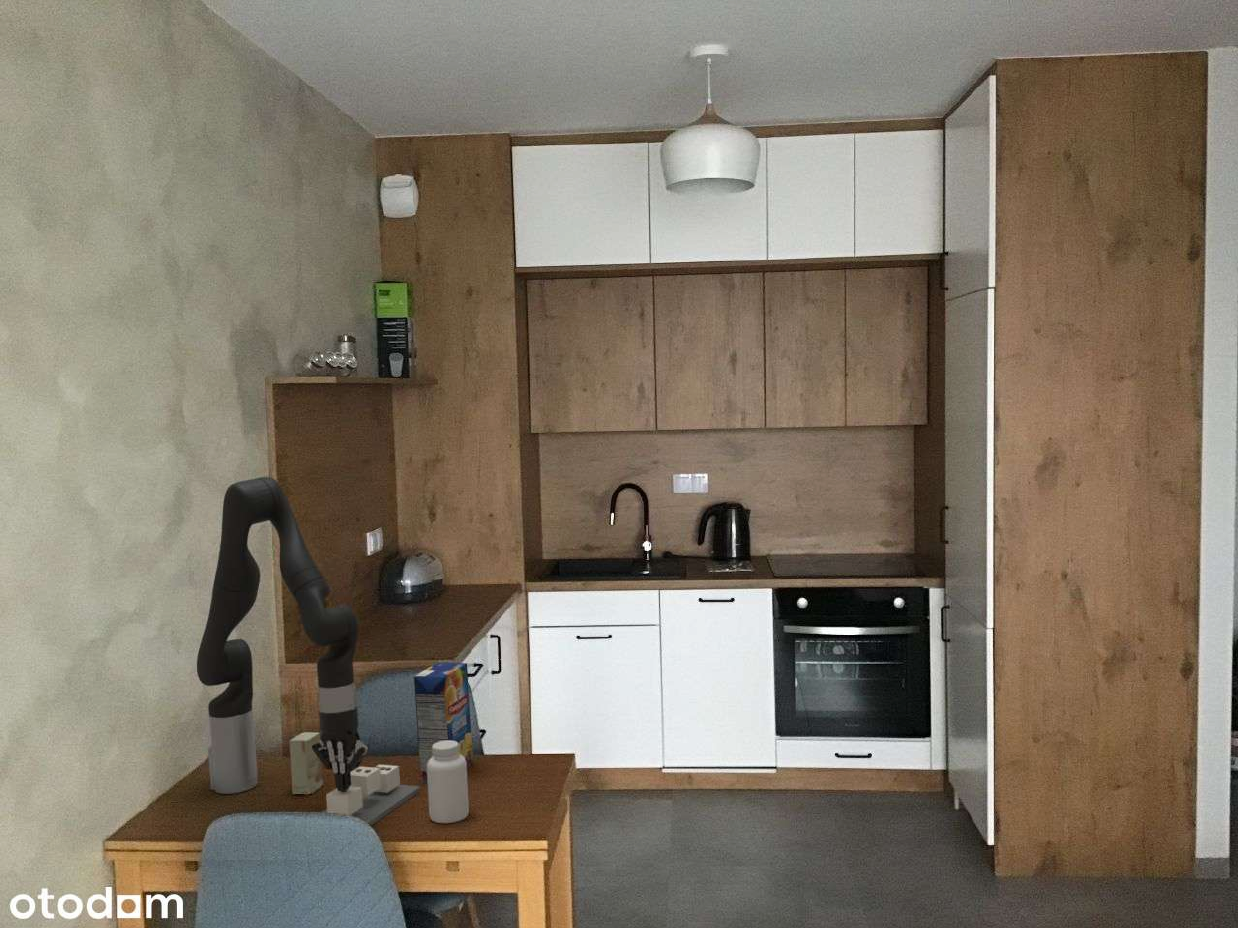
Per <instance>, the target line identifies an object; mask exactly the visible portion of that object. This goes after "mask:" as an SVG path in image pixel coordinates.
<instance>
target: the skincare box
mask: <svg viewBox="0 0 1238 928" xmlns="http://www.w3.org/2000/svg"><path fill="white" fill-rule="evenodd" d="M320 740H321V733H320V732H309V731H308V732H306V731H305V732H301V733H299V734H297V735H295V737H293V738H292V739H290V740H289V756H290V771H291V772H290V773H291V788H292V795H293V794H311V793H312V794H313V793H315V792H317V791H318V790H319V789H320V788H322V787H323V786H324V782H323V780H324V779H323V767H322V765H323V763H322V762H321V761H320V759H319V758H318V756H317V755H316V753H315V752H314V751H313V749H312V745H314V744H316V743H318V742H319V741H320ZM322 785H323V786H322ZM321 786H322V787H321ZM317 789H318V790H317ZM312 794H311V795H312Z"/></svg>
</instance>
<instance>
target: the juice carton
mask: <svg viewBox="0 0 1238 928" xmlns="http://www.w3.org/2000/svg"><path fill="white" fill-rule="evenodd" d="M468 673H469V671H468V663H467V662H466V663H463V662H436V663H435V664H432V665H431V666H429V667H427V668H426V669H424V670H422V671H421V672H419V673H417V674H415V675H414V676H413V681H414V682H413V683H414V698H415V699H414V700H415V713H416V729H417V745H418V760H419V763H418V764H419V775H420V783H427V784H428V778H427V764H428V761H429V760H430V759H431V758H432V757H433V753H432V746H433V744H435V743H437V742H440V741H446V740H452V741H456V742H458V744H459V754H460V755H462V756H463V757H464V758H465V760H466V764H467V771H469V769H471V768H472V767H473V766H474V755H473V753H474V752H473V751H474V750H473V740H472V739H473V737H472V736H473V734H472V721H471V719H472V718H471V707H470V706H471V705H470V703H471V702H470V690H469V674H468Z"/></svg>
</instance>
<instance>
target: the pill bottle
mask: <svg viewBox="0 0 1238 928" xmlns="http://www.w3.org/2000/svg"><path fill="white" fill-rule="evenodd" d="M432 753H433V757H432V758H431V759H430V760H429V761H428V764H427V778H428V783H427V793H428V794H427V796H428V811H429V812H428V813H429V819H430V820H431V821H432V822H434V823H438V824H452V823H457V822H460V821H462V820H465V819H466V818H467V817H468V815H469V811H470V810H469V809H470V808H469V806H470V805H469V788H468V784H469V783H468V770H467V764H466V760H465V758H464V757H463V756H462V755H460V754H459V744H458V742H456V741H452V740H446V741H440V742H437V743H435V744H433V746H432Z"/></svg>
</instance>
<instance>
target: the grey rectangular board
mask: <svg viewBox="0 0 1238 928" xmlns="http://www.w3.org/2000/svg"><path fill="white" fill-rule="evenodd" d="M420 792H421V787H420V786H419V785H418V786H416V785H405V784H400V785H398V786H397V787H395V788H394V789H392V790H391V791H389V792H388V793H386V792H375V791H374V792H373V793H371V794H370V795H368V796H366V795H362V801H363V807H362V808H360V809H359V810H357V811H356V812H354V813H353V814H351V815H353V816H356V817H358V818H361V819H363V820H364V821H366V822H367V823H368V824H370V825H371V826H373V825H374V824H376V823H378V821H380V820H382V819H383V818H384V817H386V816H388V814H390V813H392V812H393V811H394V810H395V809H397V808H398V807H400V806H401V805H403V804H404V803H406V802H407V801H408V800H410V799H411V798H413V797H414V796H416V795H417V794H418V793H420ZM321 812H327V808H325V809H324V810H322V811H321Z"/></svg>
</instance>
